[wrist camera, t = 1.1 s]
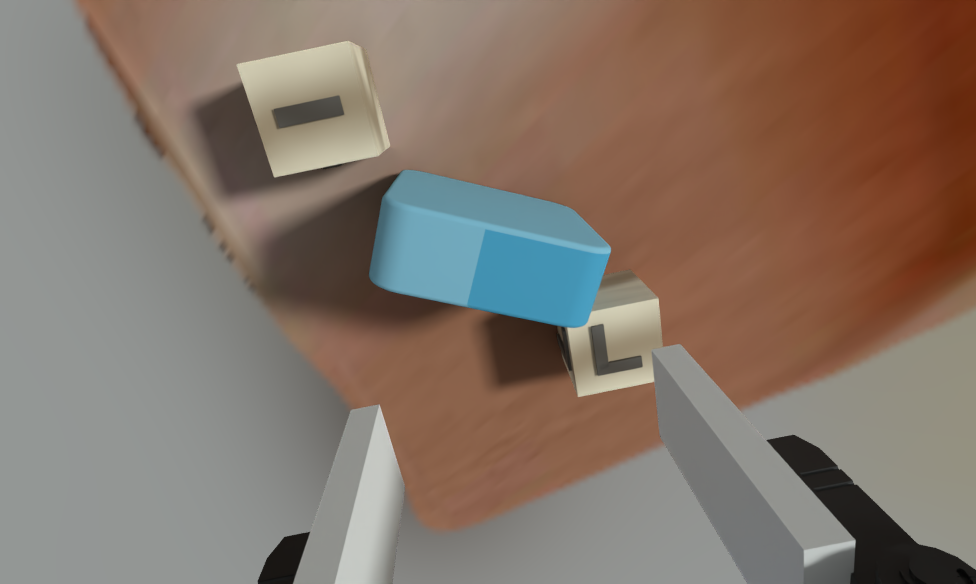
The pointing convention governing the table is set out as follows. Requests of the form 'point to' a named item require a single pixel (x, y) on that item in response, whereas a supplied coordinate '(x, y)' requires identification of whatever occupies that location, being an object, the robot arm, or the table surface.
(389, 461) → the robot arm
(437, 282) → the data package
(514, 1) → the table surface
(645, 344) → the maple block seven
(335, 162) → the maple block one
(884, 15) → the table surface
